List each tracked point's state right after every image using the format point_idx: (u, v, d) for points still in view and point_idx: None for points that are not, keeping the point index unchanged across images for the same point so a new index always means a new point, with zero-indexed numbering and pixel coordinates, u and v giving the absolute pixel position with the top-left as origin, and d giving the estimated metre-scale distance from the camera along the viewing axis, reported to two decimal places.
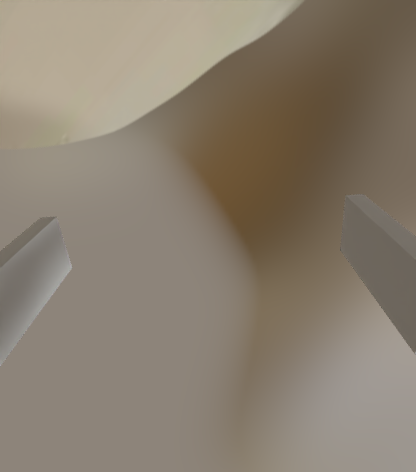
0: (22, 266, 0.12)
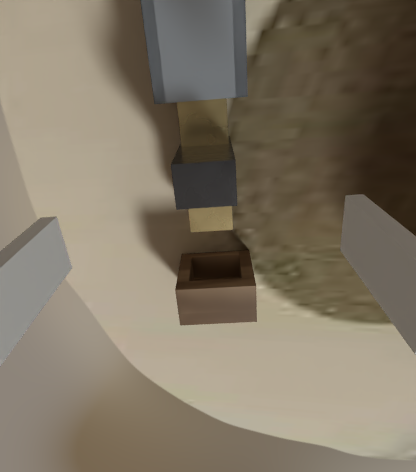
0: (22, 266, 0.12)
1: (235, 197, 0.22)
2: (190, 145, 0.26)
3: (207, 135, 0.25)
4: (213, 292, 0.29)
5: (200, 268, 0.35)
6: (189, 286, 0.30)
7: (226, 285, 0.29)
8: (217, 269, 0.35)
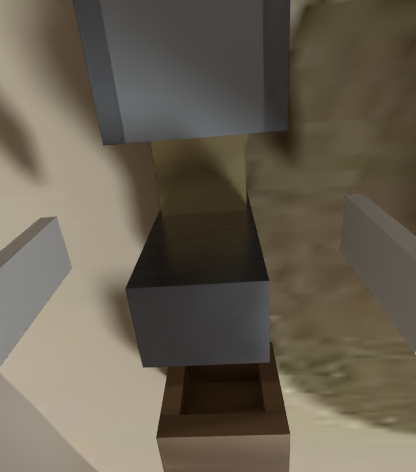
0: (22, 266, 0.12)
1: (266, 348, 0.10)
2: (177, 213, 0.14)
3: (208, 196, 0.14)
4: (218, 441, 0.18)
5: (199, 370, 0.23)
6: (179, 429, 0.18)
7: (239, 429, 0.18)
8: (224, 371, 0.23)
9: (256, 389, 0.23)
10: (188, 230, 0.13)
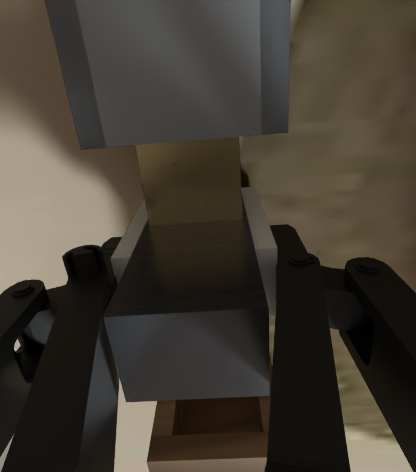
0: None
1: (266, 381, 0.09)
2: (166, 222, 0.13)
3: (200, 205, 0.13)
4: (214, 464, 0.17)
5: None
6: (172, 451, 0.17)
7: (236, 451, 0.17)
8: None
9: (254, 403, 0.22)
10: (178, 243, 0.11)
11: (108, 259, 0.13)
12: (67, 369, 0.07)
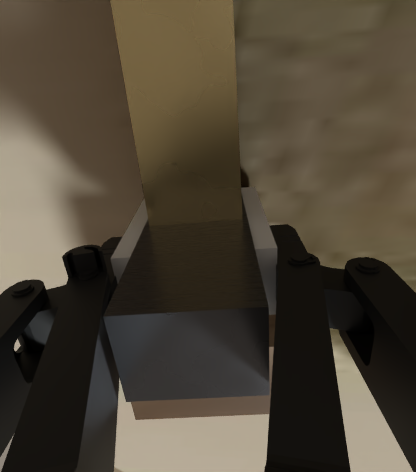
0: None
1: (266, 380, 0.09)
2: (166, 222, 0.13)
3: (200, 205, 0.13)
4: None
5: None
6: None
7: None
8: None
9: None
10: (178, 243, 0.11)
11: (108, 259, 0.13)
12: (67, 369, 0.07)
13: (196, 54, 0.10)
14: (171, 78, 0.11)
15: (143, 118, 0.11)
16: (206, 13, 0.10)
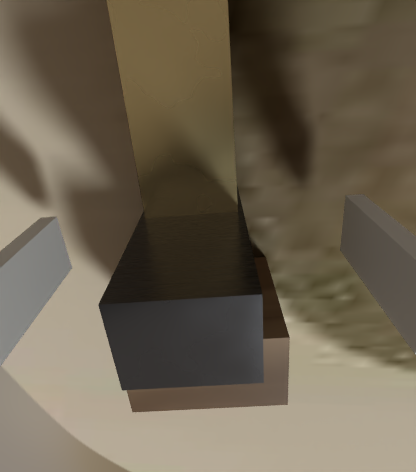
0: (22, 266, 0.12)
1: (260, 368, 0.09)
2: (162, 214, 0.13)
3: (196, 197, 0.13)
4: None
5: None
6: None
7: None
8: None
9: None
10: (173, 234, 0.12)
11: None
12: None
13: (191, 46, 0.11)
14: (166, 70, 0.11)
15: (139, 110, 0.11)
16: (200, 4, 0.10)
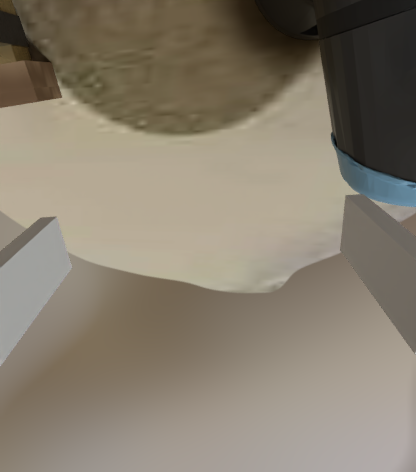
0: (22, 266, 0.12)
1: None
2: None
3: None
4: None
5: None
6: None
7: (2, 64, 0.35)
8: None
9: None
10: None
11: None
12: None
13: None
14: None
15: None
16: None
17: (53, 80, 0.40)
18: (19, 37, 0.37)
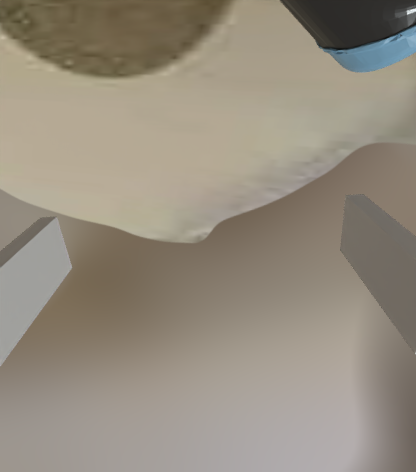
0: (22, 266, 0.12)
1: None
2: None
3: None
4: None
5: None
6: None
7: None
8: None
9: None
10: None
11: None
12: None
13: None
14: None
15: None
16: None
17: None
18: None
